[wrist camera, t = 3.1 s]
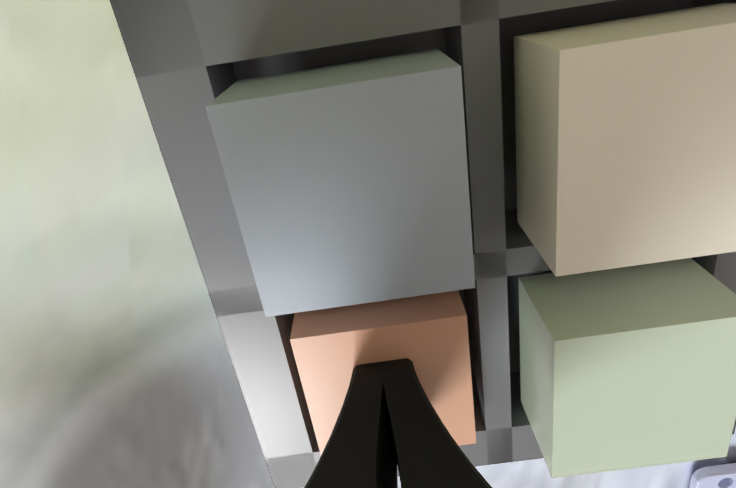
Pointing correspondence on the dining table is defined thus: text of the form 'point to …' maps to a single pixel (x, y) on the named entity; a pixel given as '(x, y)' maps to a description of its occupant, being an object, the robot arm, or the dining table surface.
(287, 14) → the grey divided tray
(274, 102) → the slate key
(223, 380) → the dining table surface
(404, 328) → the terracotta key
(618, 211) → the ivory key
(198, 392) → the dining table surface
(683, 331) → the sage key
